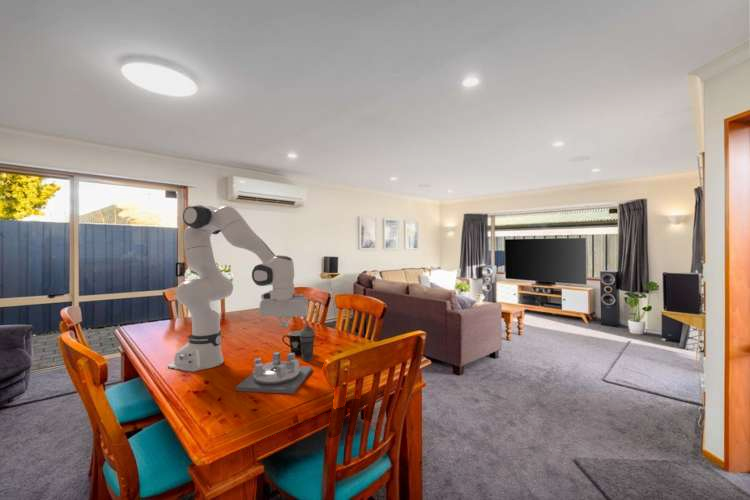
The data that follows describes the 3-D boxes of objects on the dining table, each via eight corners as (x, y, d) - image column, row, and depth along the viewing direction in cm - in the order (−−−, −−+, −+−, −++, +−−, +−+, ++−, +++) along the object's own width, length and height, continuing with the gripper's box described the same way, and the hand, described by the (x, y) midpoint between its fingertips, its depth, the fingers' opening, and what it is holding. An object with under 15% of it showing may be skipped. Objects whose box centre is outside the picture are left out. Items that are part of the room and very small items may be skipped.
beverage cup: (311, 363, 146) (311, 319, 145) (296, 361, 147) (296, 318, 147) (317, 357, 153) (317, 316, 152) (303, 356, 154) (303, 315, 154)
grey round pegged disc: (243, 384, 120) (243, 366, 119) (264, 366, 137) (264, 351, 137) (291, 386, 118) (290, 369, 117) (306, 367, 135) (306, 352, 135)
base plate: (236, 390, 118) (236, 386, 118) (263, 368, 140) (263, 364, 140) (293, 393, 115) (293, 389, 115) (311, 370, 137) (311, 366, 137)
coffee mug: (310, 352, 160) (310, 332, 160) (297, 357, 153) (297, 336, 153) (293, 348, 167) (293, 329, 166) (281, 353, 159) (280, 333, 159)
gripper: (309, 293, 136) (310, 325, 136) (264, 292, 138) (264, 324, 138) (305, 295, 130) (305, 329, 130) (257, 295, 132) (257, 328, 132)
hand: (284, 326), depth 134 cm, fingers closed
